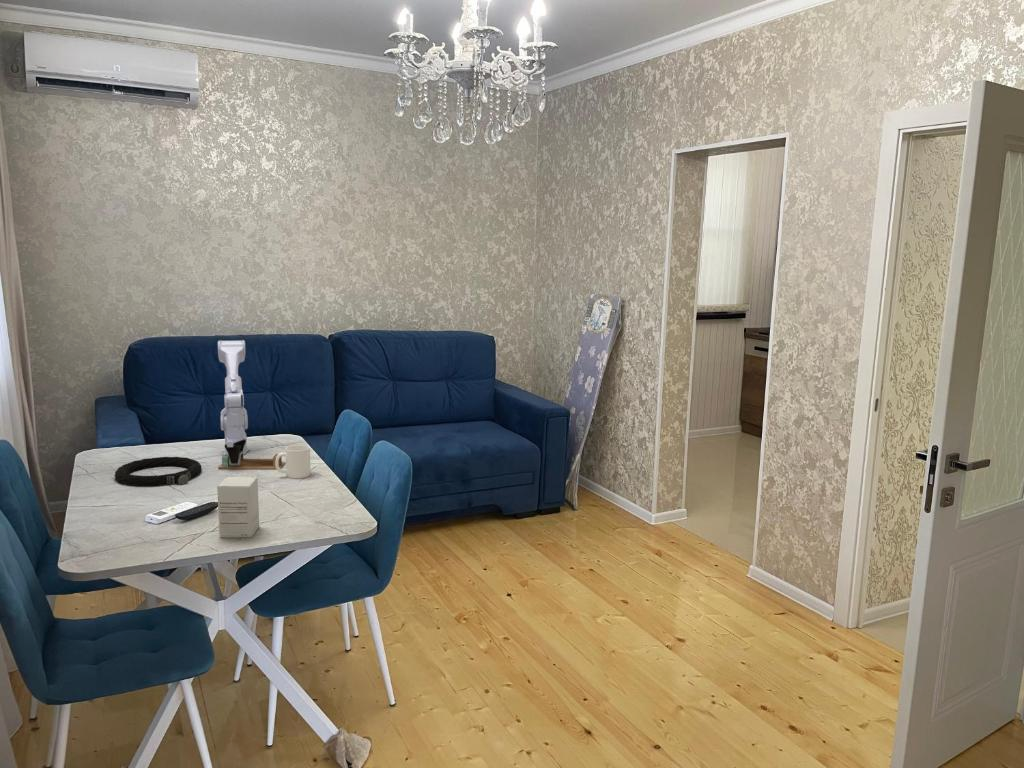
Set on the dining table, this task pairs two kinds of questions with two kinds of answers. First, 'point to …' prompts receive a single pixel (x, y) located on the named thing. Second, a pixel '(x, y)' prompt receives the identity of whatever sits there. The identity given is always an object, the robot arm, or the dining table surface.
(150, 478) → the cable lock
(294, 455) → the cup
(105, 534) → the dining table surface
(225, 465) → the rail
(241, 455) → the keeper
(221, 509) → the supplement box
